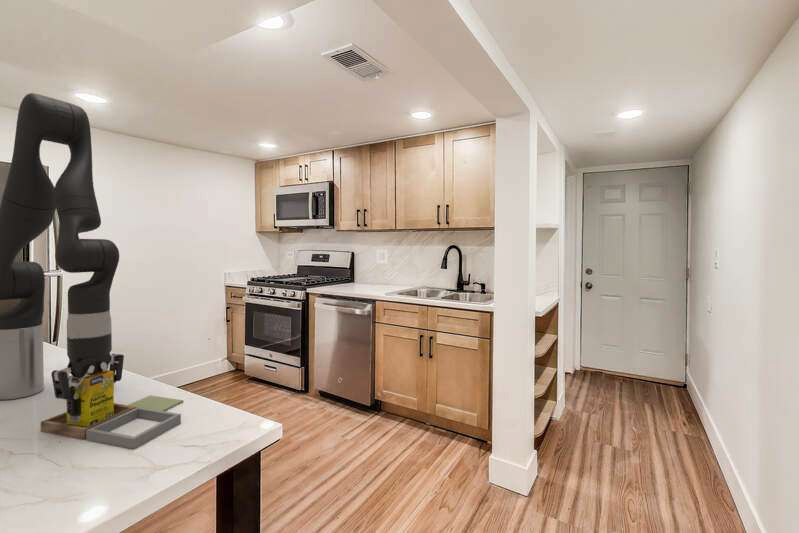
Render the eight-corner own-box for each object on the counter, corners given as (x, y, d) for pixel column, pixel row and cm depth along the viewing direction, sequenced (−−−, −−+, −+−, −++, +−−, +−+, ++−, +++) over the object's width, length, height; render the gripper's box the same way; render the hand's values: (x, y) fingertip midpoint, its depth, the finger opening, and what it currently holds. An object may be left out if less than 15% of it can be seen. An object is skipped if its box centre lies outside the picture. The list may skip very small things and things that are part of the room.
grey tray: (86, 440, 78) (86, 430, 78) (137, 415, 90) (137, 407, 90) (133, 449, 76) (133, 439, 76) (180, 422, 87) (180, 414, 87)
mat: (120, 409, 92) (120, 407, 92) (150, 397, 100) (150, 395, 100) (156, 415, 90) (156, 413, 90) (183, 402, 98) (183, 400, 98)
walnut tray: (40, 431, 81) (40, 421, 81) (96, 408, 92) (96, 400, 92) (84, 439, 78) (84, 430, 78) (136, 415, 90) (136, 406, 90)
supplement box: (89, 431, 82) (88, 379, 81) (65, 427, 83) (64, 376, 82) (115, 418, 88) (114, 370, 87) (93, 415, 89) (92, 367, 88)
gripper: (108, 324, 92) (108, 394, 93) (38, 338, 78) (40, 421, 79) (134, 327, 90) (134, 398, 91) (67, 342, 76) (69, 426, 77)
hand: (90, 408), depth 85 cm, fingers closed on supplement box, 6 cm apart
